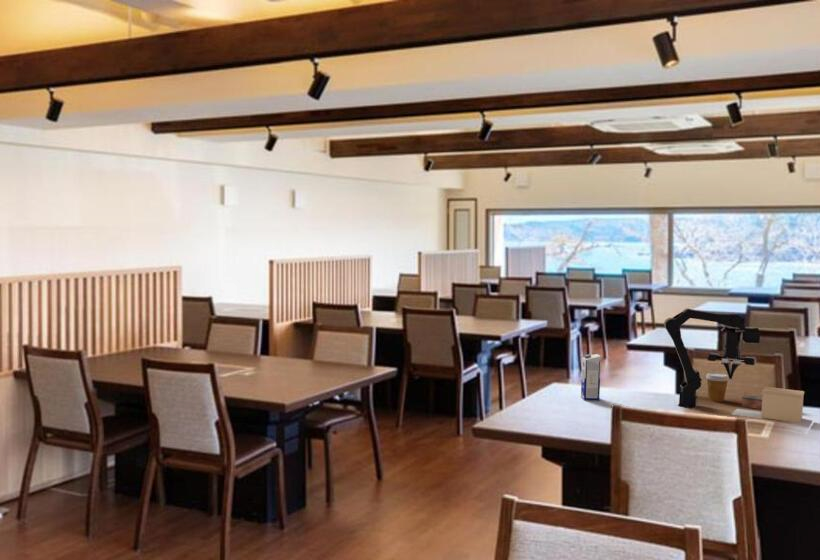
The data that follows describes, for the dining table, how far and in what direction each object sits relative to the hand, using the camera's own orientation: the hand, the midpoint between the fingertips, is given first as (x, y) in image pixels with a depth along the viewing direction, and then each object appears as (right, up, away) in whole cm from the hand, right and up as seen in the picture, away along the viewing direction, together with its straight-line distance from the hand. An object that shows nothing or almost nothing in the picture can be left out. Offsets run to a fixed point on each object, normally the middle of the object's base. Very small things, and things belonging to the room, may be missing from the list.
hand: (730, 378), depth 332 cm
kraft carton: (+14, -14, -16) cm, 25 cm away
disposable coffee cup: (0, -12, +16) cm, 20 cm away
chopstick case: (+16, -13, +1) cm, 21 cm away
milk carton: (-57, -11, +15) cm, 60 cm away
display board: (+9, -14, -12) cm, 21 cm away
